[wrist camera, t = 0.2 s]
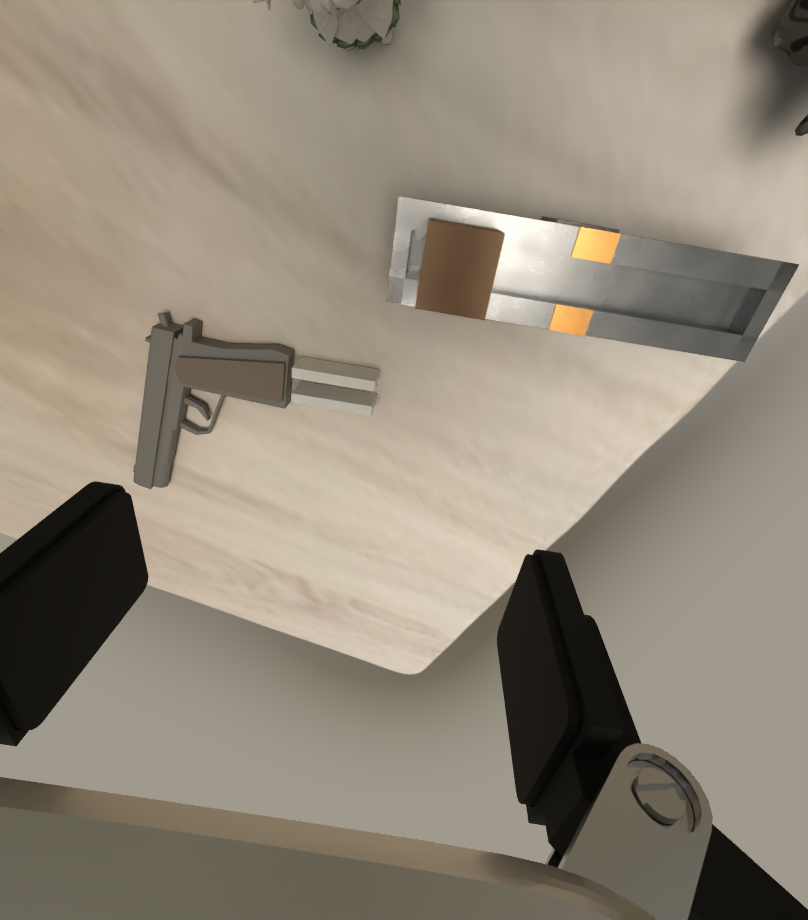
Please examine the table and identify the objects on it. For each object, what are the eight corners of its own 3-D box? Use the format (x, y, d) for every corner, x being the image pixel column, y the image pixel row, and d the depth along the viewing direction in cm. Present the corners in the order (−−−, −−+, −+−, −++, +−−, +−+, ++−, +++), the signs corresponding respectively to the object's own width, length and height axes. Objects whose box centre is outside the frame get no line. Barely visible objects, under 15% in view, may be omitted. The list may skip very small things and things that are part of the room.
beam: (396, 285, 35) (385, 305, 29) (407, 193, 32) (399, 192, 26) (687, 334, 36) (744, 365, 29) (729, 248, 32) (803, 261, 26)
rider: (419, 290, 30) (414, 308, 25) (430, 216, 27) (428, 220, 23) (477, 300, 30) (484, 320, 25) (493, 227, 28) (505, 233, 23)
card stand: (301, 356, 39) (291, 367, 37) (379, 369, 39) (375, 381, 37) (300, 389, 41) (291, 402, 38) (375, 402, 41) (371, 416, 38)
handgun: (255, 511, 49) (141, 468, 47) (307, 352, 39) (164, 290, 37) (246, 526, 47) (126, 482, 45) (298, 362, 37) (146, 296, 35)
